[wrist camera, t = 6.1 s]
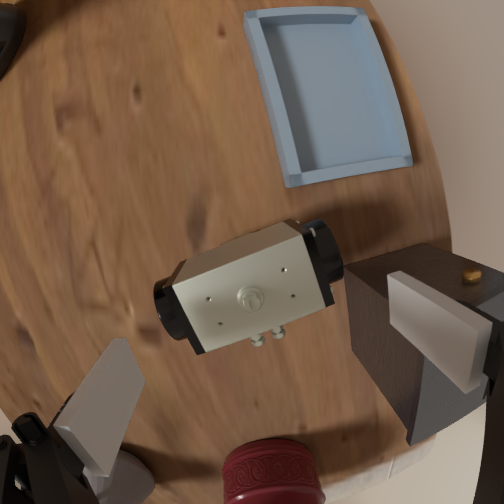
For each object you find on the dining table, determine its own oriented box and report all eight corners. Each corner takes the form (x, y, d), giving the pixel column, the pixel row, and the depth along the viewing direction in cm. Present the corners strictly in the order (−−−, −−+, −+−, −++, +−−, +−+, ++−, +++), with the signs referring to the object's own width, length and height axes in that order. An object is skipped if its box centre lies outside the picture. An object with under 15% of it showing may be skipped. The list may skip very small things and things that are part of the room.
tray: (243, 26, 22) (244, 11, 19) (353, 20, 22) (363, 8, 19) (285, 187, 26) (292, 187, 23) (397, 166, 26) (413, 165, 23)
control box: (337, 261, 28) (426, 327, 13) (425, 236, 28) (529, 273, 13) (348, 354, 30) (409, 447, 16) (426, 325, 30) (504, 388, 16)
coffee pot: (169, 482, 34) (159, 556, 19) (110, 479, 34) (91, 543, 19) (105, 386, 29) (58, 477, 15) (42, 388, 29) (-8, 456, 14)
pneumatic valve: (174, 254, 26) (135, 304, 15) (294, 207, 26) (342, 223, 15) (199, 307, 28) (180, 382, 16) (313, 262, 28) (366, 313, 16)
